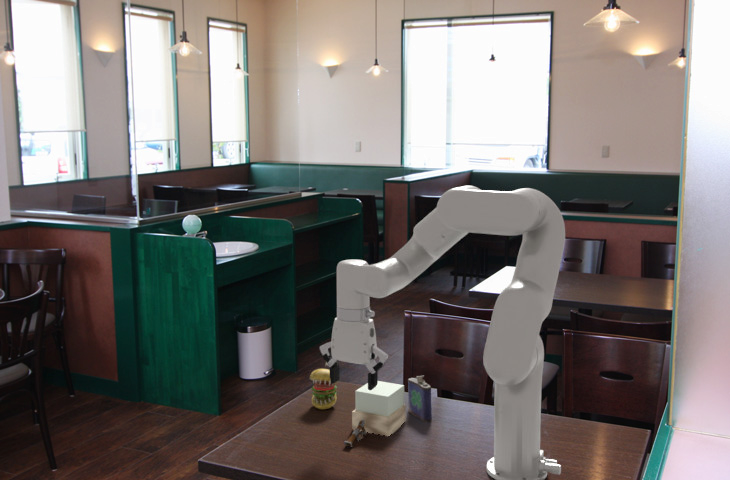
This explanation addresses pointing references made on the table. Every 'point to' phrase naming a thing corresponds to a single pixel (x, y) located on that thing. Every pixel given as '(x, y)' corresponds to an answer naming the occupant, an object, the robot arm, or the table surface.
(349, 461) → the table surface
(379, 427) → the bottom block
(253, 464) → the table surface
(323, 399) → the hamburger
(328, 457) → the table surface
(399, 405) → the top block
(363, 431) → the wooden post with brackets
